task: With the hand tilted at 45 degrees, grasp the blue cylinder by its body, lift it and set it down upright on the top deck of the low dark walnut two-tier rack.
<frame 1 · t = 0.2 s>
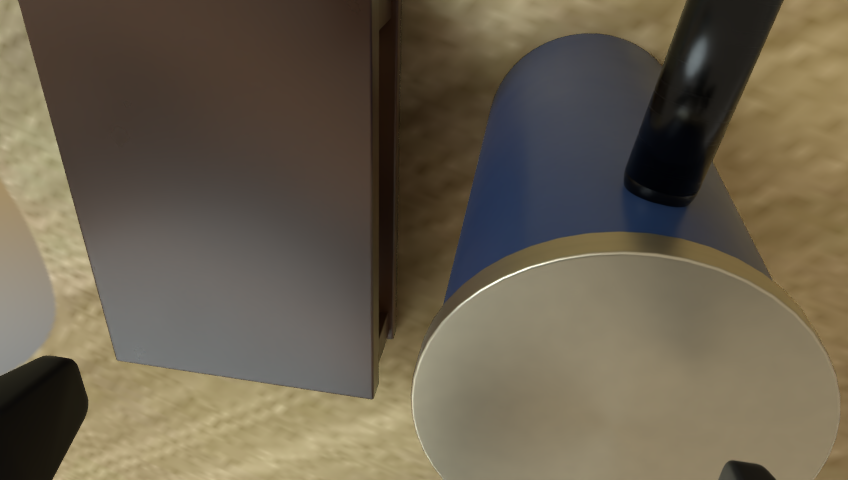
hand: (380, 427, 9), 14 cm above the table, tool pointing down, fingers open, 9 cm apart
rack: (264, 162, 24), on the table
blue cylinder: (581, 127, 21), on the table
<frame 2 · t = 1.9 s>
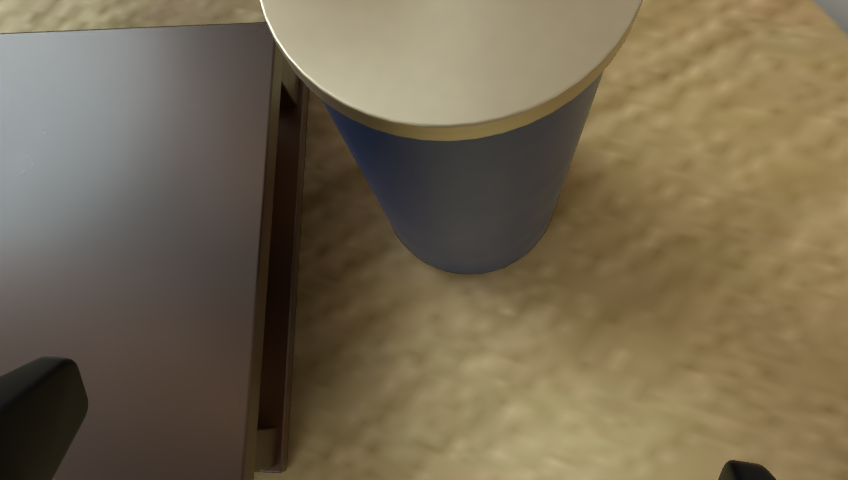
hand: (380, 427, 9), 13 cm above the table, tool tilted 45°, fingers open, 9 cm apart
rack: (163, 262, 23), on the table
blue cylinder: (469, 190, 23), on the table
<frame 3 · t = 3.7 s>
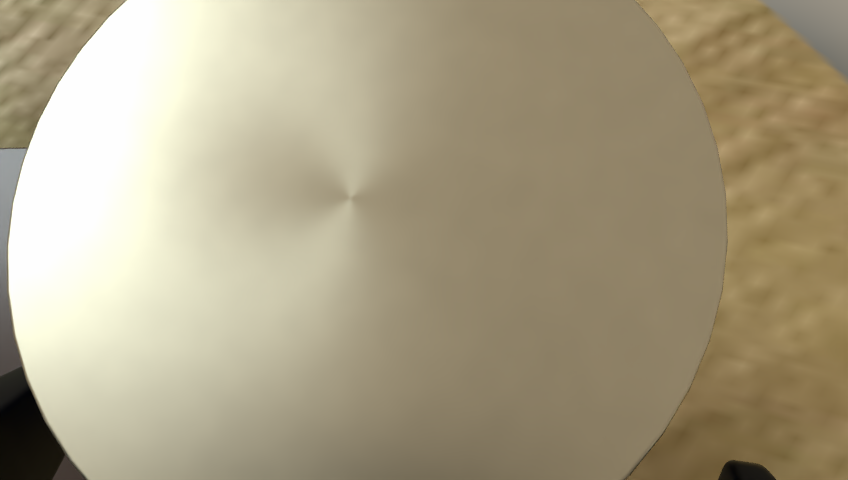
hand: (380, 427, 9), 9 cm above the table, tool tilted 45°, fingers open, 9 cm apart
rack: (57, 430, 19), on the table
blue cylinder: (443, 345, 18), on the table
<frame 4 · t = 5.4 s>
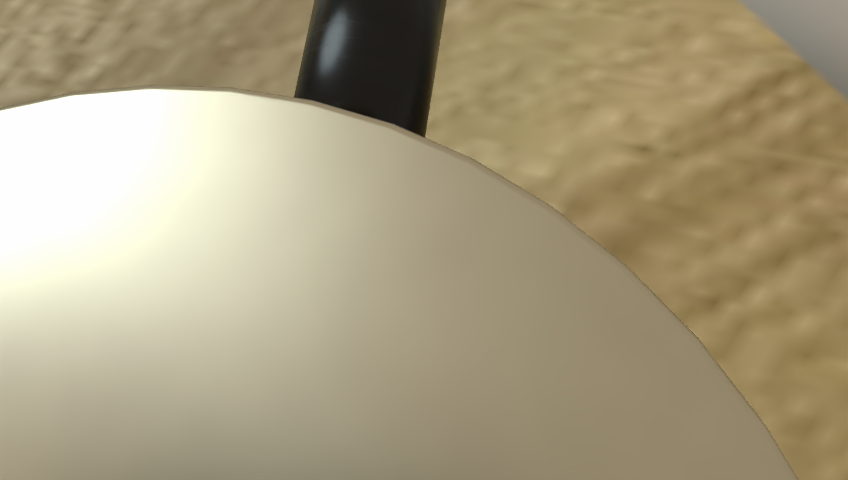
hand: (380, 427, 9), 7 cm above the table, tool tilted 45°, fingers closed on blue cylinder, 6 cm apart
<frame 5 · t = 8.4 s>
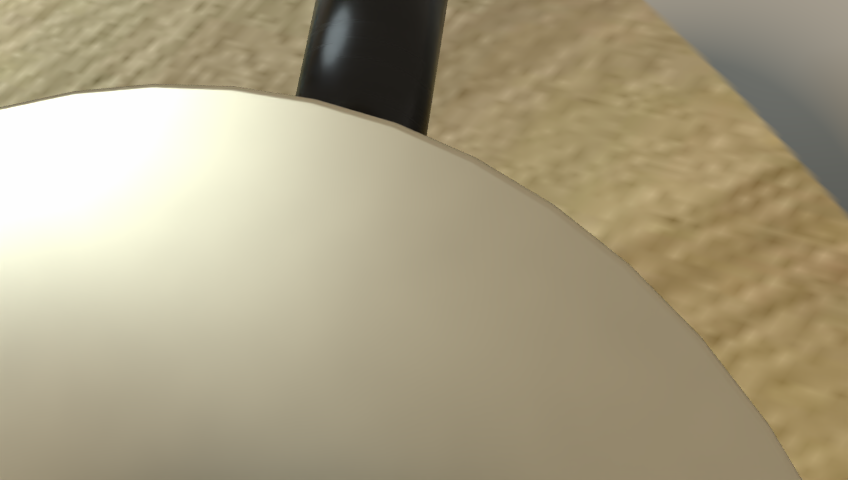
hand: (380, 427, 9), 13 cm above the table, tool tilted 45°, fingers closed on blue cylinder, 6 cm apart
when the fingers open (11 cm above the table, at t = 11.5 s): blue cylinder stays where it is, resting on rack.
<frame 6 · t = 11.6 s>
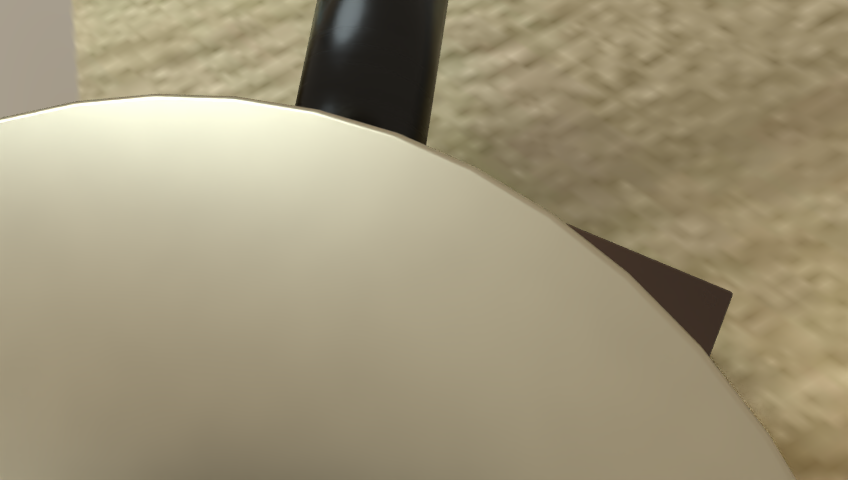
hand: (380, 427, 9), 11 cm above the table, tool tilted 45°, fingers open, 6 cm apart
rack: (431, 462, 19), on the table
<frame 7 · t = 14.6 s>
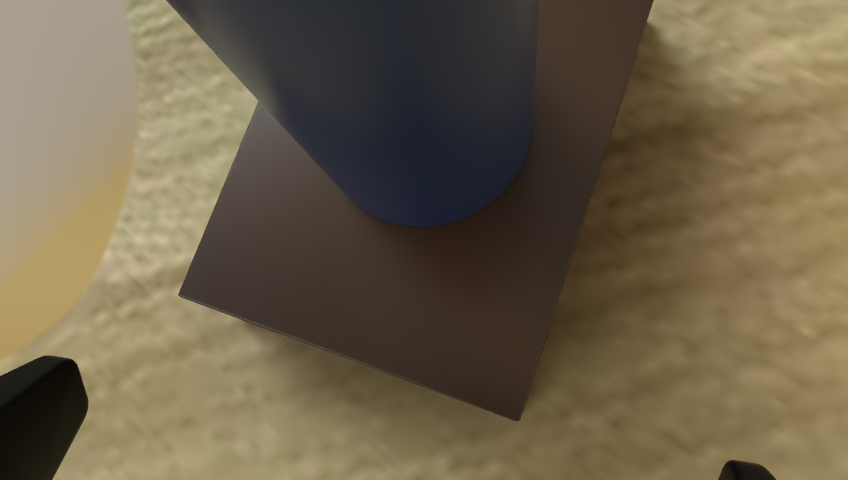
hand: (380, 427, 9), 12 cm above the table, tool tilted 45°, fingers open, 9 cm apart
rack: (442, 164, 22), on the table
blue cylinder: (425, 123, 18), point 4 cm above the table, touching rack
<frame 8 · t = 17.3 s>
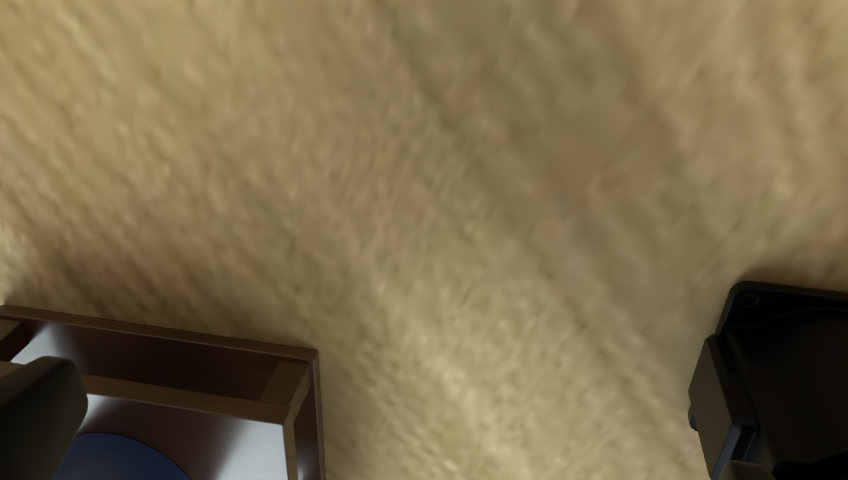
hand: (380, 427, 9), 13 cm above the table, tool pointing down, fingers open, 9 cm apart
rack: (174, 413, 30), on the table
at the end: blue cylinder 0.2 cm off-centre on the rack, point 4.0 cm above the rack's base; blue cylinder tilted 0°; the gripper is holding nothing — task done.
